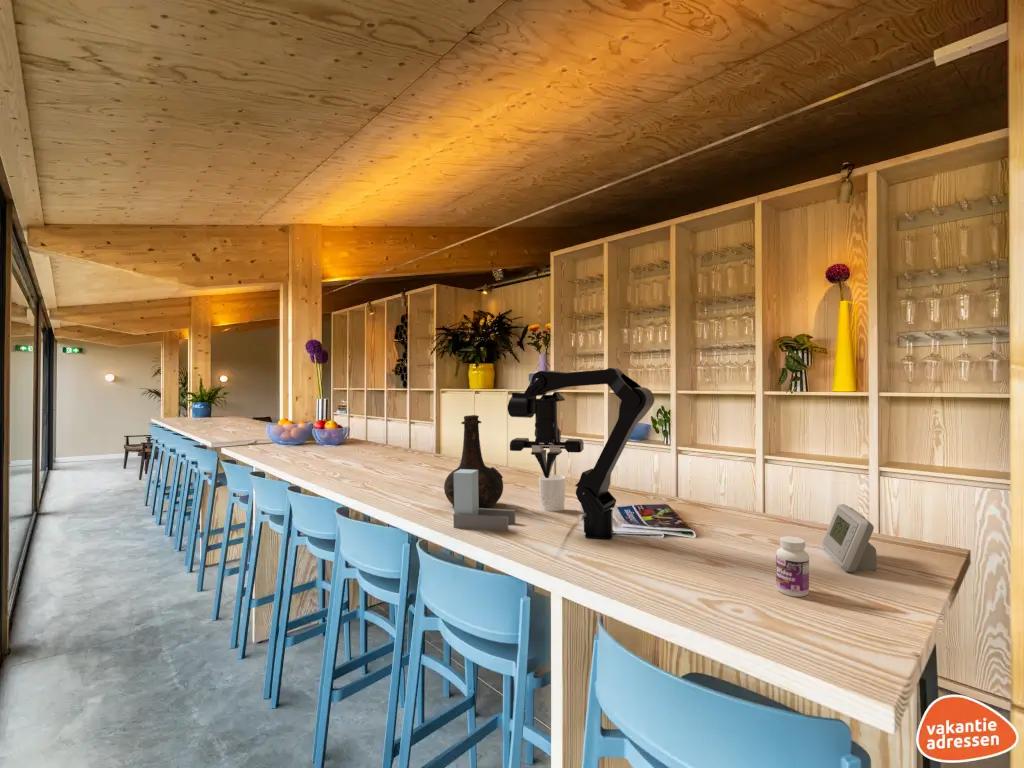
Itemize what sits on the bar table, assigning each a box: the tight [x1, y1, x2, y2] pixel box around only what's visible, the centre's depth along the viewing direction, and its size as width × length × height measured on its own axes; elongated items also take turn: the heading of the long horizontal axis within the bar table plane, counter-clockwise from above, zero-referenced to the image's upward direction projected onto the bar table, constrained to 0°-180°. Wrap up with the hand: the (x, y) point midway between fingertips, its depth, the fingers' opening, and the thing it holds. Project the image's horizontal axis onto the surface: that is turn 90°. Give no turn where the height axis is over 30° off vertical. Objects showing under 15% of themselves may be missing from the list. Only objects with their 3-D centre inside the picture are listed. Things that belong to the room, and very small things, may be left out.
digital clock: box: [821, 503, 877, 573], centre depth 113 cm, size 16×9×11 cm, turn 153°
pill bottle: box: [775, 535, 810, 598], centre depth 98 cm, size 5×5×10 cm
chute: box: [453, 508, 516, 532], centre depth 140 cm, size 14×8×4 cm, turn 74°
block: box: [453, 469, 479, 515], centre depth 142 cm, size 5×5×14 cm
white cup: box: [538, 474, 567, 512], centre depth 157 cm, size 8×8×10 cm
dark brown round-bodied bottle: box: [443, 414, 504, 509], centre depth 162 cm, size 18×18×28 cm
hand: (547, 477), depth 141 cm, fingers closed
